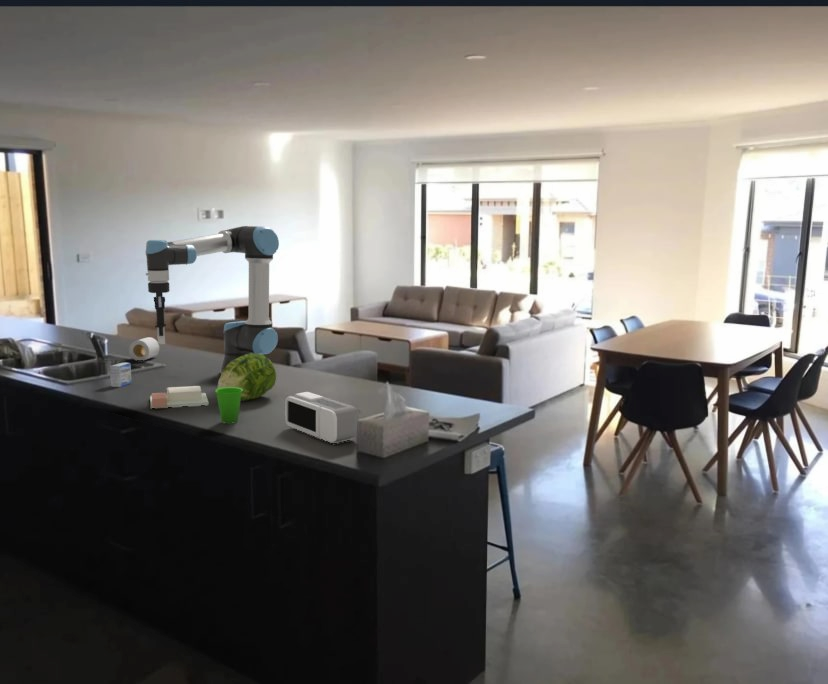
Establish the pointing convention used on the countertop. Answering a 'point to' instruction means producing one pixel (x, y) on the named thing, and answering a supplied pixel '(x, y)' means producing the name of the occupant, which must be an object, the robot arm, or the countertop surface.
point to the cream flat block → (184, 393)
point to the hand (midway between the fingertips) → (161, 343)
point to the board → (184, 402)
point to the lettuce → (249, 375)
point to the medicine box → (120, 374)
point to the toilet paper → (139, 345)
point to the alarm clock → (321, 417)
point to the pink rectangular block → (159, 399)
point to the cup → (229, 403)
